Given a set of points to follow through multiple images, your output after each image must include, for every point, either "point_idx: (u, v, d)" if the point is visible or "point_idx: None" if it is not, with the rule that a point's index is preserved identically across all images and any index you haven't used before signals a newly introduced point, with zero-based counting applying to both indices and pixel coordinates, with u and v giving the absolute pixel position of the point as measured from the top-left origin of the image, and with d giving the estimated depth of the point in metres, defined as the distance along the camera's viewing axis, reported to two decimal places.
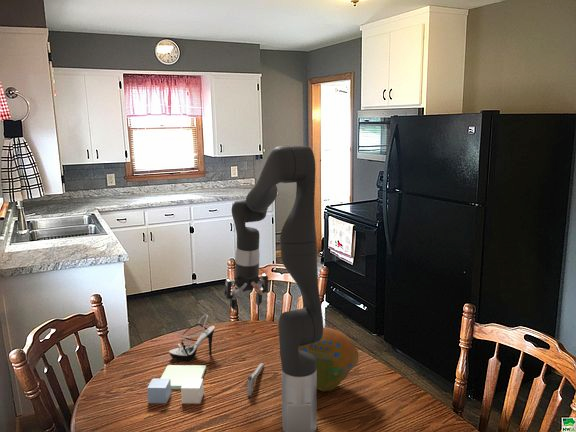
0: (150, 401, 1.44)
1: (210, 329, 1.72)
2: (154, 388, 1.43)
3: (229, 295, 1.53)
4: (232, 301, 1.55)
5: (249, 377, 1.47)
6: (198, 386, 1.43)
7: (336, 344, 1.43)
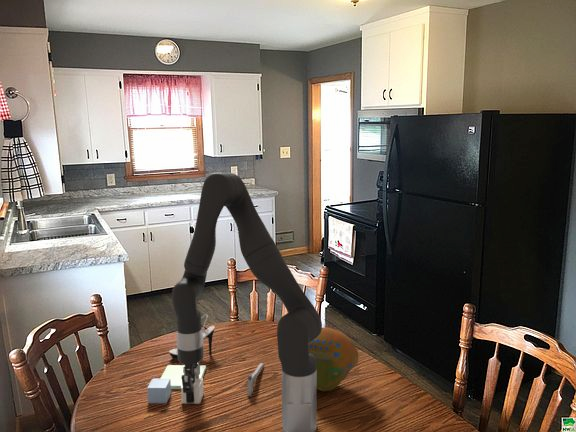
0: (150, 401, 1.44)
1: (210, 329, 1.72)
2: (154, 388, 1.43)
3: (192, 388, 1.40)
4: (191, 394, 1.42)
5: (249, 377, 1.47)
6: (198, 386, 1.43)
7: (336, 344, 1.43)
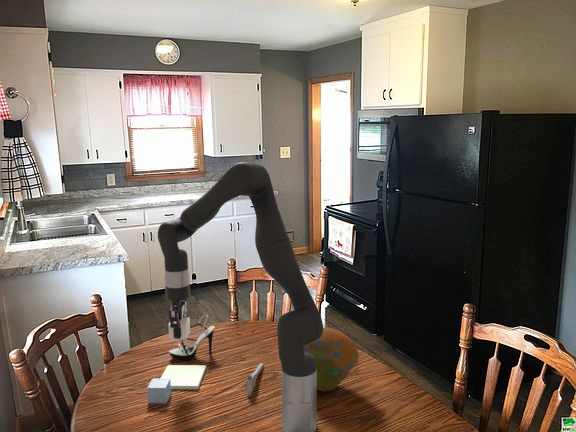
0: (150, 401, 1.44)
1: (210, 329, 1.72)
2: (154, 388, 1.43)
3: (179, 323, 1.49)
4: (178, 329, 1.50)
5: (249, 377, 1.47)
6: (185, 323, 1.52)
7: (336, 344, 1.43)
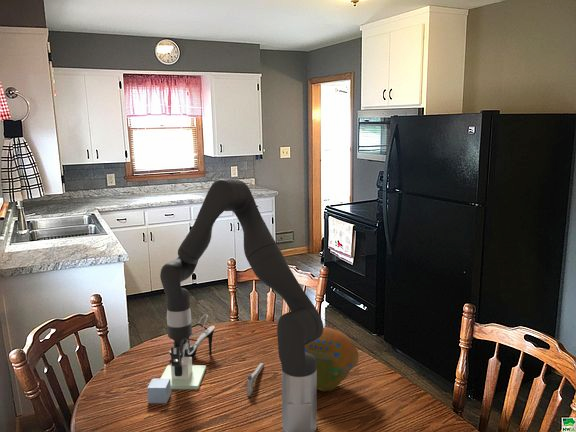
0: (150, 401, 1.44)
1: (210, 329, 1.72)
2: (154, 388, 1.43)
3: (179, 362, 1.50)
4: (179, 367, 1.51)
5: (249, 377, 1.47)
6: (187, 363, 1.54)
7: (336, 344, 1.43)
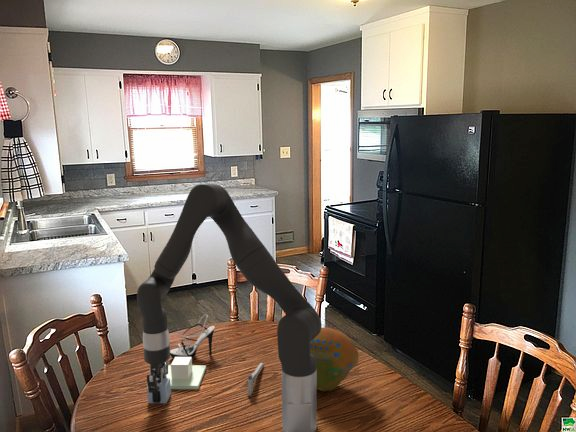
0: (150, 401, 1.43)
1: (210, 329, 1.72)
2: None
3: (157, 388, 1.40)
4: (157, 393, 1.42)
5: (249, 377, 1.47)
6: (187, 363, 1.54)
7: (336, 344, 1.43)
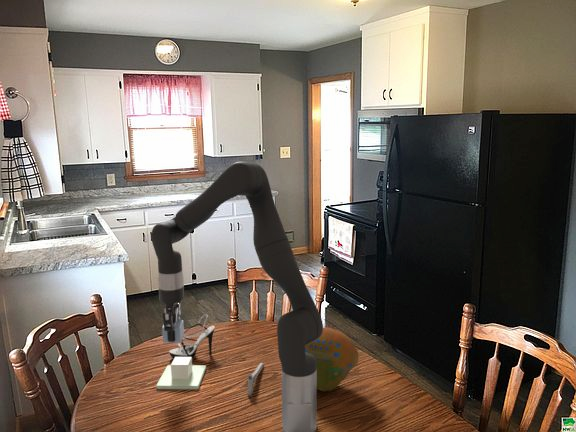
0: (165, 340, 1.49)
1: (210, 329, 1.72)
2: None
3: (173, 326, 1.46)
4: (172, 332, 1.48)
5: (249, 376, 1.47)
6: (187, 363, 1.54)
7: (336, 344, 1.43)
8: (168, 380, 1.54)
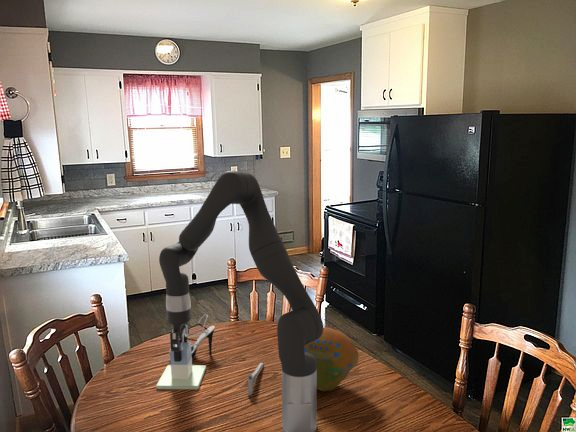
0: (172, 362, 1.54)
1: (210, 329, 1.72)
2: None
3: (179, 347, 1.49)
4: (179, 353, 1.51)
5: (249, 376, 1.47)
6: None
7: (336, 344, 1.43)
8: (168, 380, 1.54)
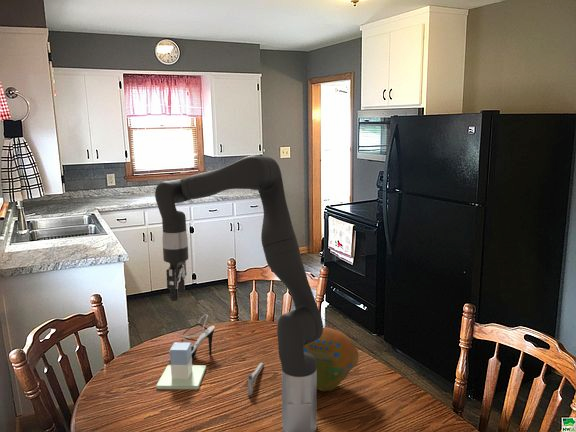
0: (172, 362, 1.54)
1: (210, 329, 1.72)
2: (176, 350, 1.53)
3: (175, 284, 1.45)
4: (175, 291, 1.47)
5: (249, 376, 1.47)
6: None
7: (336, 344, 1.43)
8: (168, 380, 1.54)
